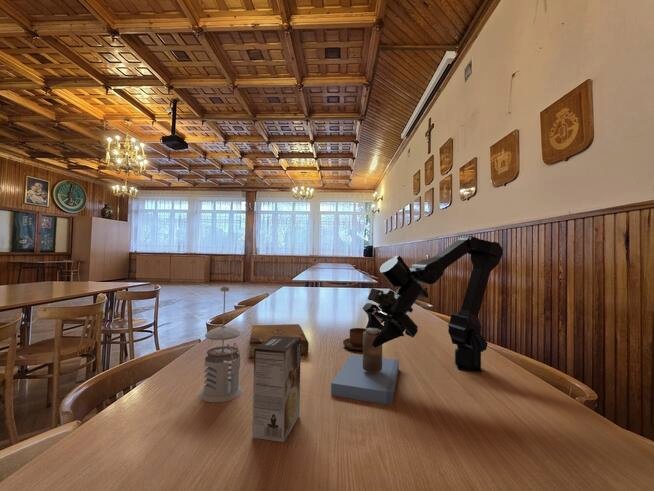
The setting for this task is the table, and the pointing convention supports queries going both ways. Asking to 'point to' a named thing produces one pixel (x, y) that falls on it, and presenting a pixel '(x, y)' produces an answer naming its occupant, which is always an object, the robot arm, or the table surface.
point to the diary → (266, 331)
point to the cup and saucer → (355, 339)
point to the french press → (222, 365)
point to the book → (366, 381)
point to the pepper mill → (371, 351)
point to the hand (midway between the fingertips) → (368, 343)
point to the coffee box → (276, 387)
